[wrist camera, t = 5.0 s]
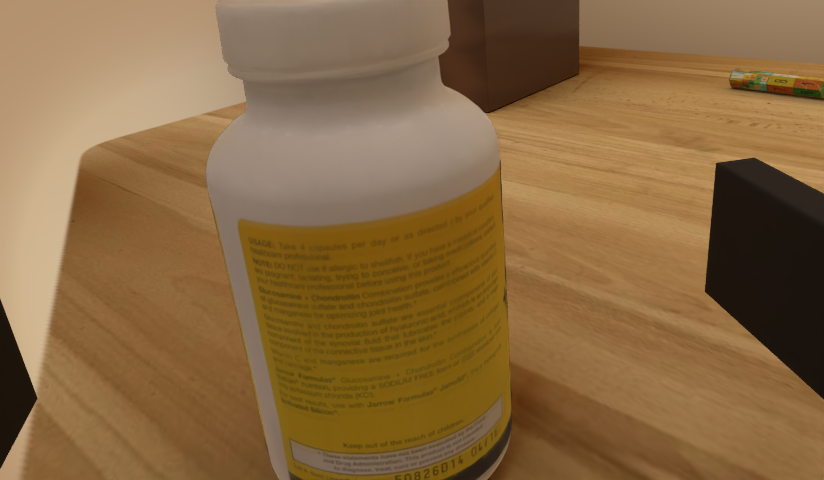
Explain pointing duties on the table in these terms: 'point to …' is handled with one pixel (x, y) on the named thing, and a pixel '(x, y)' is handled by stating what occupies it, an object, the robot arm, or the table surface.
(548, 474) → the table surface
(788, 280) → the robot arm
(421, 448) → the pill bottle
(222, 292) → the table surface
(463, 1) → the tall brown block
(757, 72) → the pencil
